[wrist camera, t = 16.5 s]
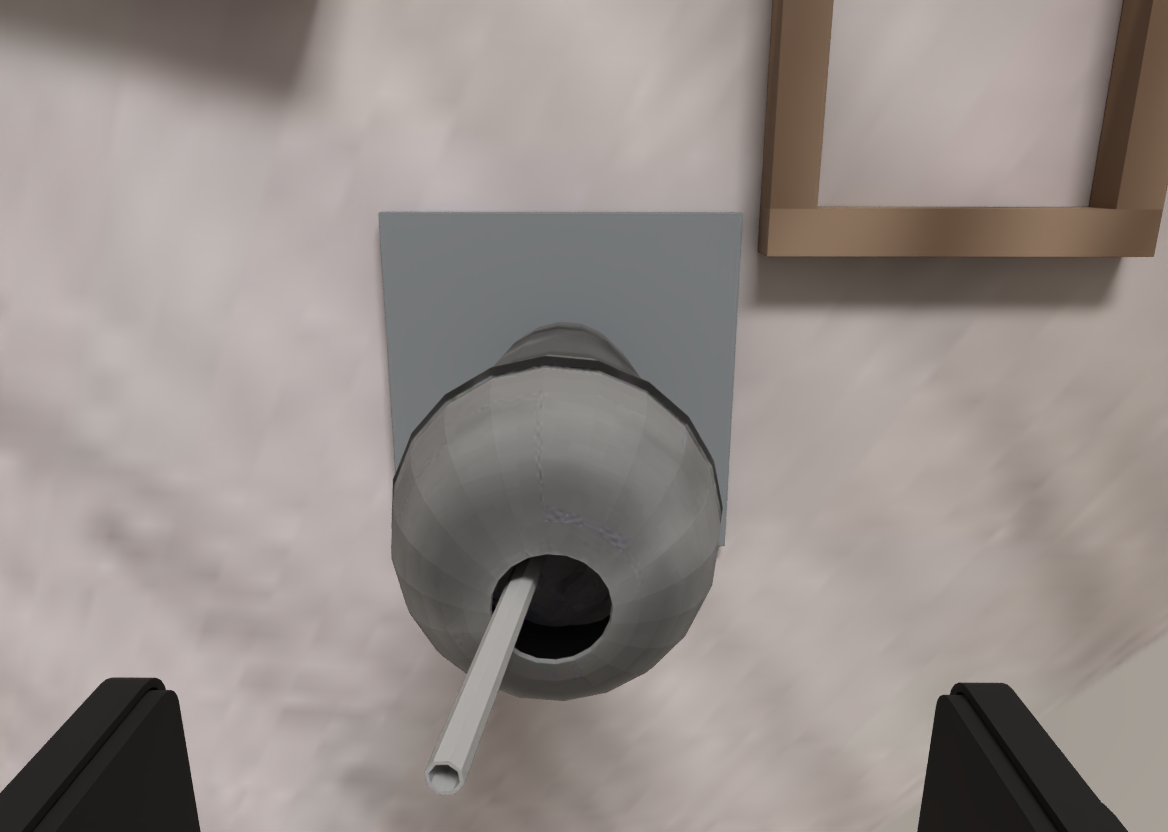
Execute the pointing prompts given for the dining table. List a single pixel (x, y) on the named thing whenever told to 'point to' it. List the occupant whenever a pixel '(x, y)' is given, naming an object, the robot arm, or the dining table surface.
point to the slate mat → (564, 302)
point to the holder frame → (1104, 229)
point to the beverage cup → (551, 529)
